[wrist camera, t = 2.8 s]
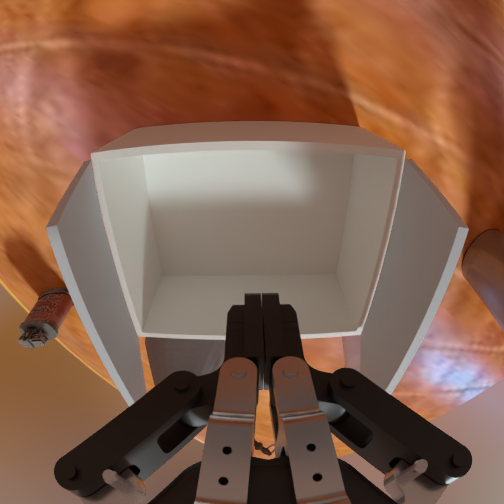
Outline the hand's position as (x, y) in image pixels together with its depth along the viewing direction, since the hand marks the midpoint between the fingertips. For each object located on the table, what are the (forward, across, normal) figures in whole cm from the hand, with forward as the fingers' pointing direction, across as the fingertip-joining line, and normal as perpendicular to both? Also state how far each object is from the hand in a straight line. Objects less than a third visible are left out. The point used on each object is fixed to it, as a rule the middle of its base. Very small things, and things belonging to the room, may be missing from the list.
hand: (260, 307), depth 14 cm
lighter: (+19, +30, +17) cm, 39 cm away
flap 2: (+3, -9, +4) cm, 10 cm away
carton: (+19, 0, +4) cm, 19 cm away
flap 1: (+3, +9, +4) cm, 11 cm away
